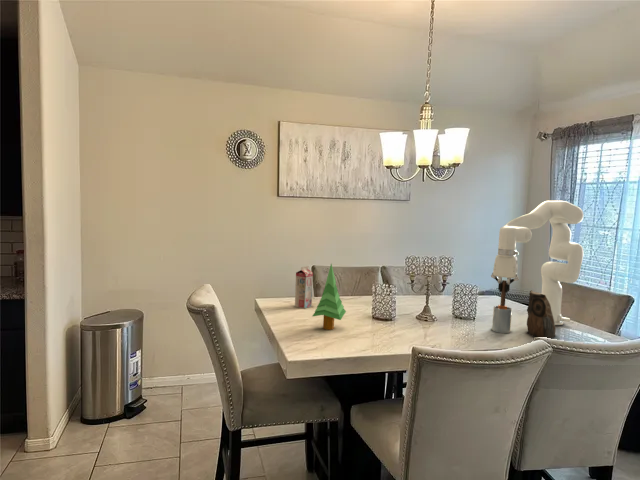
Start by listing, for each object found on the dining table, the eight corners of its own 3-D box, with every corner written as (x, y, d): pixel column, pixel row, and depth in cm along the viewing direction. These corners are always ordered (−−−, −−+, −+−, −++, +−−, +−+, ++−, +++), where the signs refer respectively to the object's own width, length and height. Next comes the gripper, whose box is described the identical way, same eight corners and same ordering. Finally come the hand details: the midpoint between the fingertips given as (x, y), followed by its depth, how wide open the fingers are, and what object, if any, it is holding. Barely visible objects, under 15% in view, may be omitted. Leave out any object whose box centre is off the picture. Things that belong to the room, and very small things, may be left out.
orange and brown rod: (506, 320, 214) (509, 280, 212) (505, 321, 210) (508, 281, 209) (498, 318, 216) (501, 279, 215) (496, 320, 213) (499, 280, 211)
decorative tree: (348, 332, 200) (351, 265, 198) (313, 332, 197) (316, 264, 195) (342, 324, 213) (345, 261, 211) (309, 324, 211) (311, 260, 208)
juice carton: (311, 306, 249) (313, 266, 247) (304, 308, 243) (306, 267, 242) (301, 304, 252) (303, 265, 251) (294, 306, 247) (296, 266, 245)
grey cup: (511, 330, 215) (513, 307, 214) (508, 334, 208) (509, 310, 207) (494, 327, 219) (495, 305, 218) (490, 330, 213) (491, 307, 212)
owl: (546, 340, 199) (549, 296, 198) (517, 334, 208) (520, 291, 207) (556, 336, 208) (560, 293, 206) (528, 329, 217) (531, 288, 216)
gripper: (526, 254, 210) (523, 293, 211) (490, 251, 218) (488, 288, 220) (523, 255, 203) (520, 295, 205) (486, 252, 212) (484, 290, 214)
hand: (503, 291), depth 212 cm, fingers closed on orange and brown rod, 2 cm apart
